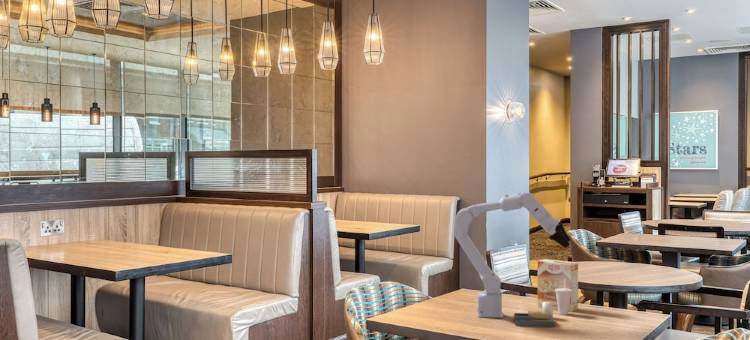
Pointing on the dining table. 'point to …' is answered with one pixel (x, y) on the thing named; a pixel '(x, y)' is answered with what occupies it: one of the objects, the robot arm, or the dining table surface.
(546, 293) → the coffeecake box
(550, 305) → the white capsule cylinder
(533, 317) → the shunt bar
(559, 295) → the smoothie
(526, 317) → the jig
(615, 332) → the dining table surface
